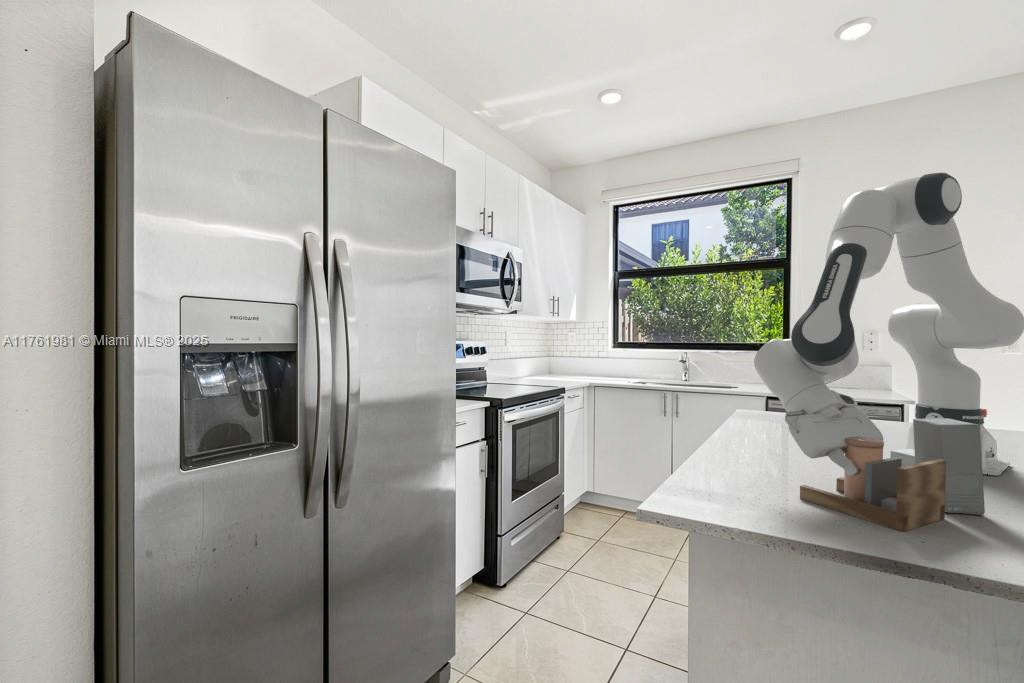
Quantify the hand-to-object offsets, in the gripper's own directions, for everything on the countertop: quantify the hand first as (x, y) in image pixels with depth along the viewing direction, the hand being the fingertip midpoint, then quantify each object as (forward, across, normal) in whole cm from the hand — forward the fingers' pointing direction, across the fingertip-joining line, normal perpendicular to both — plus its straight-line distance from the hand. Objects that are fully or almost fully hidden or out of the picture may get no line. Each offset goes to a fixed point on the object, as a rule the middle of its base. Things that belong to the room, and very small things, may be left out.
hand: (867, 471), depth 88 cm
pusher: (+7, 0, +2) cm, 7 cm away
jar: (+4, 0, +5) cm, 6 cm away
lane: (+5, 0, +4) cm, 7 cm away
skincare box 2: (+9, +14, +1) cm, 17 cm away
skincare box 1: (+3, +21, +6) cm, 22 cm away
